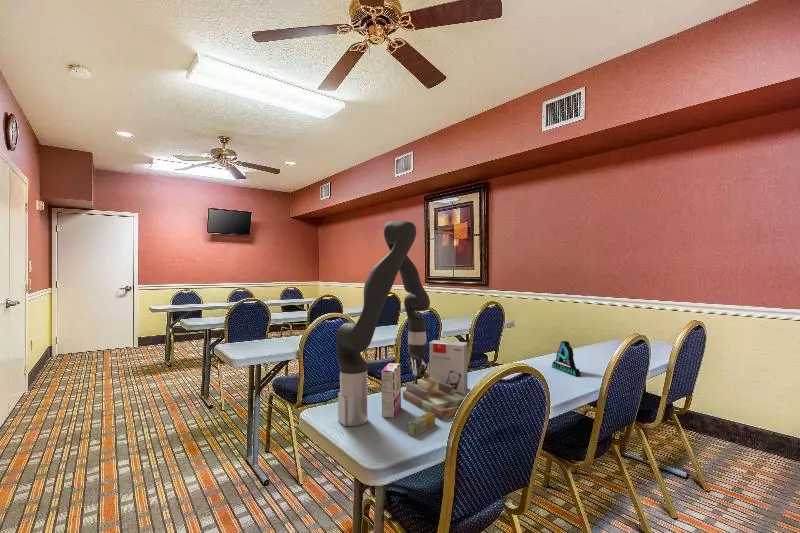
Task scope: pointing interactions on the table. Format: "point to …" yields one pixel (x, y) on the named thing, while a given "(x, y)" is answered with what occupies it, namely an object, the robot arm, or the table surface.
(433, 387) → the ash block
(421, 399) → the corridor deck
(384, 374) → the candy bar box
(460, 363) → the hard drive box
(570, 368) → the decorative sign
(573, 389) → the table surface
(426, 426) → the medication box
